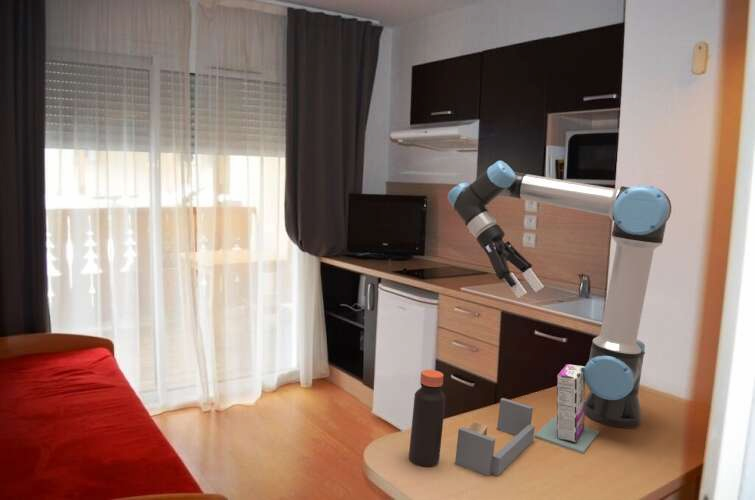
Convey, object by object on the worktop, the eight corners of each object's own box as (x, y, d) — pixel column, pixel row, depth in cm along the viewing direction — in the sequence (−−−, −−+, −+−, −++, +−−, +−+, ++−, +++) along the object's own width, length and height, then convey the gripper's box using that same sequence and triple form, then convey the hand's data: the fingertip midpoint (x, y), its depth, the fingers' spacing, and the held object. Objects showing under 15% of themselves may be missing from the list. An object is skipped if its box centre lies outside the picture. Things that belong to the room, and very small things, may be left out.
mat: (598, 433, 147) (599, 431, 147) (583, 453, 134) (583, 451, 134) (553, 419, 153) (553, 417, 153) (534, 437, 141) (534, 435, 141)
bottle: (445, 461, 125) (454, 375, 123) (425, 470, 121) (434, 381, 118) (422, 449, 130) (430, 366, 127) (402, 457, 125) (410, 371, 123)
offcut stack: (487, 445, 135) (489, 426, 134) (478, 459, 128) (480, 439, 127) (470, 441, 136) (473, 421, 136) (461, 454, 129) (463, 434, 129)
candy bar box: (565, 424, 149) (566, 363, 148) (584, 427, 147) (586, 366, 146) (555, 439, 140) (556, 374, 139) (576, 443, 137) (577, 377, 136)
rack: (535, 439, 140) (538, 408, 139) (494, 478, 120) (499, 443, 118) (499, 427, 145) (502, 397, 144) (455, 463, 125) (458, 429, 124)
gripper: (494, 237, 172) (536, 294, 165) (457, 241, 151) (503, 306, 145) (512, 222, 168) (556, 279, 162) (477, 223, 148) (525, 290, 141)
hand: (531, 292), depth 153 cm, fingers open, 13 cm apart
